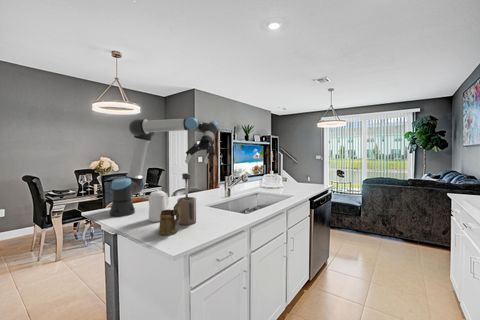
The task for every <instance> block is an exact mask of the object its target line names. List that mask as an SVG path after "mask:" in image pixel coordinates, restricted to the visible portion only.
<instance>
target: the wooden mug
mask: <svg viewBox="0 0 480 320" xmlns="http://www.w3.org/2000/svg"><path fill="white" fill-rule="evenodd" d="M182 203H183V199H181V200H180V201H178V202H176V203H175V204H174V206H173V209H167V210H163V211H161V214H160V222H159V227H158V233H157V234H158V236H161V237H163V236H164V237H167V236H172V235H175V234H177V232H178V227H177V224H178V220H179V212H178V208H179V207H180V206H181V205H182Z"/></svg>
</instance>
